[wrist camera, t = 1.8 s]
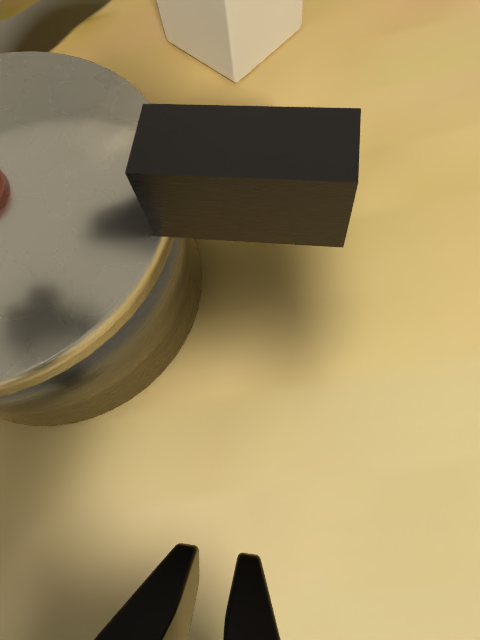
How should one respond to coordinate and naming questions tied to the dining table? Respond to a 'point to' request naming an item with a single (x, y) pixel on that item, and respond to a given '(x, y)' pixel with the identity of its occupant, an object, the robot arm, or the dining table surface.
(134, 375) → the cooker pot
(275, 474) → the dining table surface
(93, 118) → the cooker lid
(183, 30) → the milk carton
